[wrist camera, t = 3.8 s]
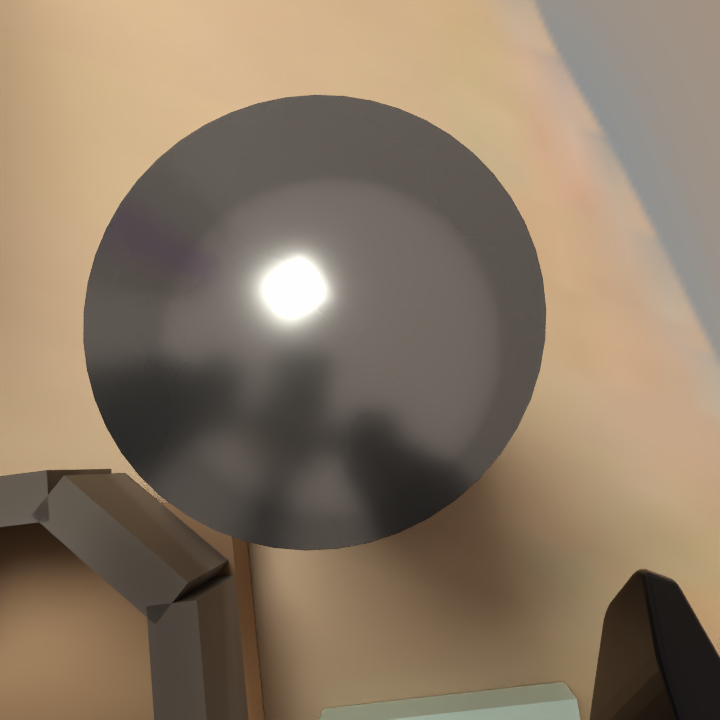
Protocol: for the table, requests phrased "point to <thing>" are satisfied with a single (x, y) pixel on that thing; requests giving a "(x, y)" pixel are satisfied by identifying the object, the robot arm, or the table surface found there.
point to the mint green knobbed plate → (471, 706)
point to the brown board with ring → (120, 606)
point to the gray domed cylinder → (314, 322)
